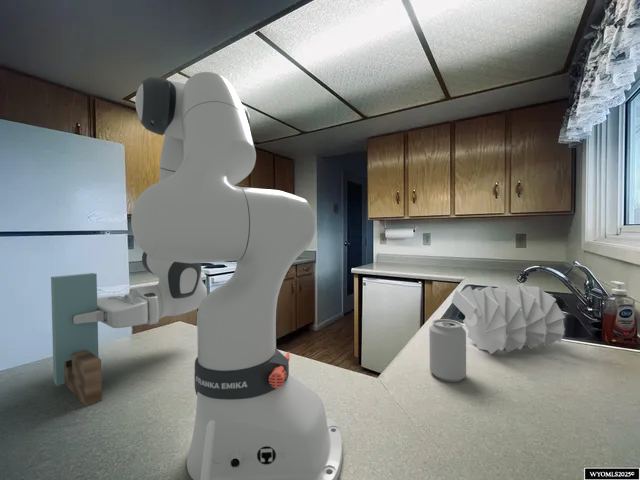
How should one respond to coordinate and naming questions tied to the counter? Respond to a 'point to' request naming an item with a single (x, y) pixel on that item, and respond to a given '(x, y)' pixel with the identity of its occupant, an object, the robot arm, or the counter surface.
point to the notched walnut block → (84, 377)
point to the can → (447, 350)
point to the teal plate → (68, 337)
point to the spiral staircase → (510, 317)
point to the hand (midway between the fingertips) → (70, 318)
